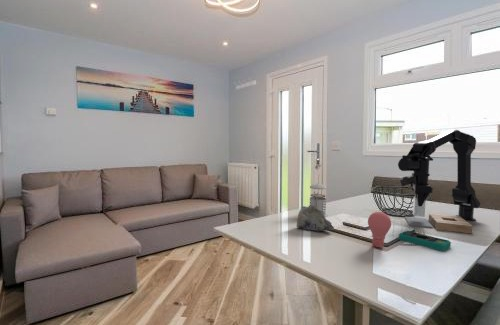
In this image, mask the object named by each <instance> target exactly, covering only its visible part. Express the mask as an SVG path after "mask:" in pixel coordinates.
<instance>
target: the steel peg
mask: <svg viewBox="0 0 500 325" xmlns="http://www.w3.org/2000/svg"><path fill="white" fill-rule="evenodd" d="M426 200H427V199H426ZM426 200H425V201H424V203H423V205H422V206H418V199H417V197H415V196H413V201H412V202H413V203H412V206H413V207H412V216H414V217H420V218H425V216H426V214H425V213H426V203H427V202H426Z"/></svg>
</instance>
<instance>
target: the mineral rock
mask: <svg viewBox="0 0 500 325" xmlns="http://www.w3.org/2000/svg"><path fill="white" fill-rule="evenodd" d="M296 228H298V229H302V230H303V229H304V230H307V231H309V230H310V231H316V232H319V231H324V232H325V231H328V230H332V231H333V230H334V229H335V226H334V225H332V222H331V221H330V220H328V219H327V217H325V216H324V214H323V212H322V211H320V210H319V209H317V208H316V207H314V206H313V205H312V206H310V205H308V206H305V205H303V206H301V208H300V210H299V212H298V216H297V220H296Z"/></svg>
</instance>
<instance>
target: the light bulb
mask: <svg viewBox="0 0 500 325" xmlns="http://www.w3.org/2000/svg"><path fill="white" fill-rule="evenodd" d="M367 224H368V228H369V230H370V232H371V234H372V235H371V237H372V240H371V244H372V246H374V247H376V248H383V247H384V244H385V239H386V235H387V234H388V233H389V231H390V229H391V227H392V220H391V218H390V216H389V215H388V214H386V213H385V212H382V211H375V212H372V213H371V214H370V215H369V216H368V218H367Z"/></svg>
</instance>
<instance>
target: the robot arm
mask: <svg viewBox="0 0 500 325" xmlns="http://www.w3.org/2000/svg"><path fill="white" fill-rule="evenodd" d="M447 143H450V144H452V148H453V150H454V152H455V154H456V156H457V163H456V164H457V179H456V180H457V183H456V184H457V185H456V186H455V187H453V188H452V190H451V192H452V193H451V197H452V200H453V204H454V205H458V211H457V212H458V213H457V214H456V215H455V216H460V217H462V218H463V219H464V220H465V221H477V219H476V218H474V212H475V210H474V209H478V208H480V206H481V202H480V201H479V199H478V198H477V196H476V190H475V189H474V187H473V186H472V183H471V182H472V177H471V176H472V172H471V171H472V166H471V165H472V159H471V158H472V154H473V152H474V151H475V150H476V144H477V139H476V137H475V136H474V135H470V134H468V133H465V132H462V131H460V130H458V129H448V130H445V132H443V133H441V134H439V135H437V136H434V137H432V138H430V139H428V140H422V141H418V142H417V141H416V142H414V143H413V145H412V147H411V149H410V150H409V151H408V154H406V155H402V157H401V158H400V159H399V161H398V163H397V166H398V170H400V171H402V172H411V175H408V176H406V175H405V176H403V177H401V178H398V181H399V184H400V186H401V187H405V186H408V185H409V187H410V189H411V190H412V191H413V192H414V197H417V199H418V206H422V205H423V203H424V201H425V200H427V198H428V196H429V195H430V194H433V190H434V188H433V187H432V186H431V185H430V183H429V177H430V175H431V174H430V162H431V161H432V162H433V161H434V158H432V157H431V155H432V154H433V153H434V152H436V150H437V148H440V147H441V146H443V145H445V144H447Z"/></svg>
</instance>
